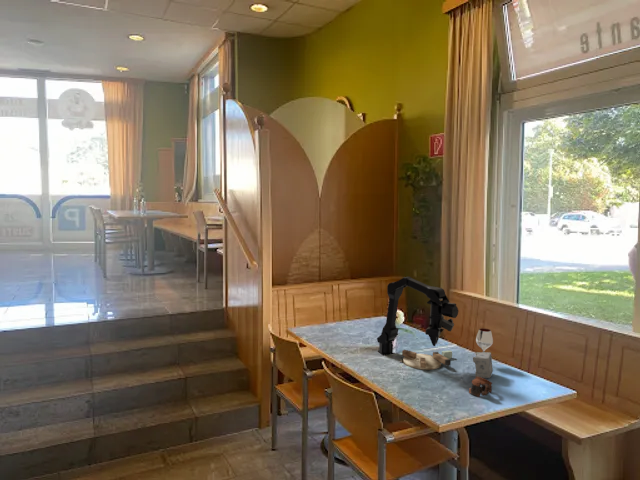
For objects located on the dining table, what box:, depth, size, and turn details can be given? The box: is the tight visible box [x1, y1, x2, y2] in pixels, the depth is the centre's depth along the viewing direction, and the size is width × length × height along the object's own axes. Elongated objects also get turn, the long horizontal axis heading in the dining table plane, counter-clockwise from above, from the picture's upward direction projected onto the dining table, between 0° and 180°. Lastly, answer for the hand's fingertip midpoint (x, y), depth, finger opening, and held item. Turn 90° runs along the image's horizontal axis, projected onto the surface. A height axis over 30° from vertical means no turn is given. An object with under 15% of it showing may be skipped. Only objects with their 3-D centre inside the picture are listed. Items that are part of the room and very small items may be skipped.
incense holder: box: [472, 351, 494, 379], centre depth 228 cm, size 10×8×10 cm
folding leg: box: [432, 351, 452, 367], centre depth 242 cm, size 12×3×3 cm, turn 20°
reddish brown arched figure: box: [468, 375, 493, 398], centre depth 207 cm, size 12×10×8 cm
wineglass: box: [475, 327, 494, 352], centre depth 243 cm, size 8×8×18 cm
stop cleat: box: [441, 349, 453, 360], centre depth 252 cm, size 5×2×4 cm, turn 110°
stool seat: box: [401, 349, 442, 371], centre depth 244 cm, size 19×20×4 cm
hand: (435, 344), depth 235 cm, fingers open, 4 cm apart
